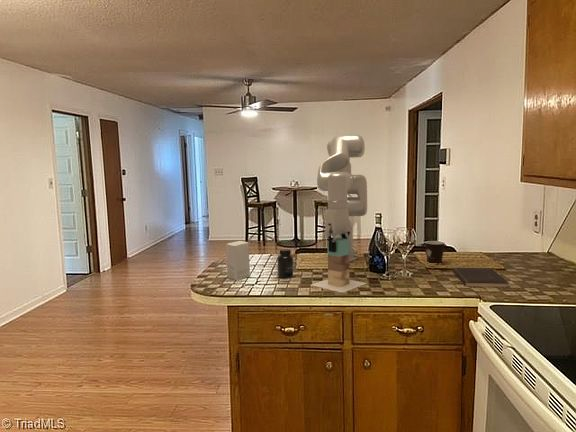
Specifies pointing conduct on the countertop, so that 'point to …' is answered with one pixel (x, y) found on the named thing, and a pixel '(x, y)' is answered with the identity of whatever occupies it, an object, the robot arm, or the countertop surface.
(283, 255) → the supplement bottle
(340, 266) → the walnut cube
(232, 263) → the skincare box
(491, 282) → the hardcover book
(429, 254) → the coffee mug
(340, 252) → the teal cube
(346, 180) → the robot arm
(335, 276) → the oak cube
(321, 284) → the plate
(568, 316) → the countertop surface
